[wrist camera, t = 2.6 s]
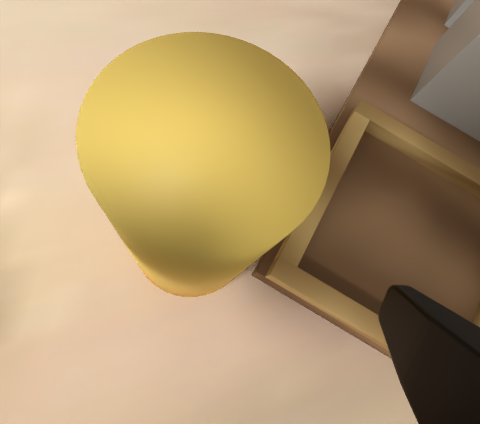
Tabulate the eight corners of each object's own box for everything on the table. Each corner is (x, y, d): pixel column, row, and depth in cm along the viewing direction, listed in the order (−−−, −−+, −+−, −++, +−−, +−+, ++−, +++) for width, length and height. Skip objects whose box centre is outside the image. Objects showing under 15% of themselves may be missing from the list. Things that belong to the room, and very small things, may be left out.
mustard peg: (266, 222, 20) (365, 109, 9) (211, 319, 17) (261, 312, 7) (174, 168, 20) (172, -5, 9) (109, 258, 18) (14, 164, 7)
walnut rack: (462, 400, 18) (498, 410, 16) (251, 274, 18) (260, 268, 16) (555, 42, 29) (584, 21, 27) (420, -37, 29) (439, -64, 27)
